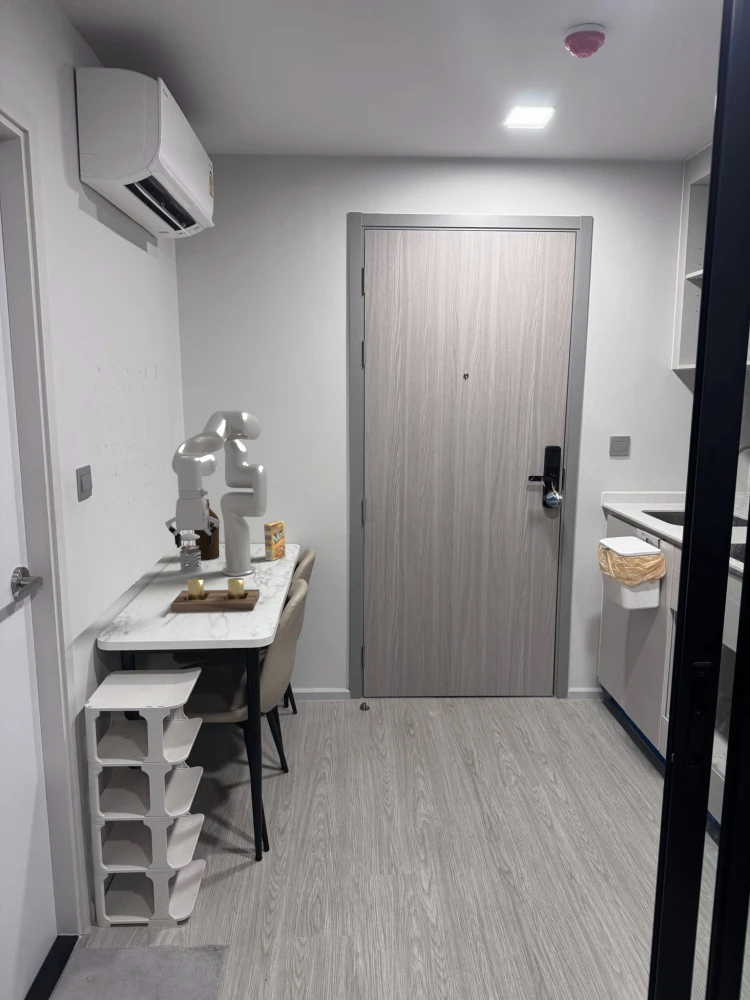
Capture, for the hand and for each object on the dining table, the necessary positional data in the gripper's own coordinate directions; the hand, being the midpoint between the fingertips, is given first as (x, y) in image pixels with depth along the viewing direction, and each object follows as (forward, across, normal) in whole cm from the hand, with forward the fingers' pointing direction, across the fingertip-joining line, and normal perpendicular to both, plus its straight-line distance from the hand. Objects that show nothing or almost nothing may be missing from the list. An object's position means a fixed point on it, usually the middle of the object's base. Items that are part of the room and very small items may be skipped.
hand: (194, 546), depth 213 cm
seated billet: (+19, -13, +1) cm, 23 cm away
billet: (+19, 0, +1) cm, 19 cm away
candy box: (+22, -18, -60) cm, 67 cm away
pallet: (+20, -6, +1) cm, 21 cm away
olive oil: (+22, +11, -63) cm, 68 cm away
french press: (+21, +13, -41) cm, 48 cm away
